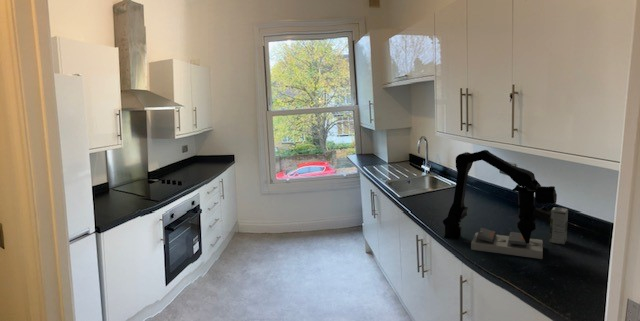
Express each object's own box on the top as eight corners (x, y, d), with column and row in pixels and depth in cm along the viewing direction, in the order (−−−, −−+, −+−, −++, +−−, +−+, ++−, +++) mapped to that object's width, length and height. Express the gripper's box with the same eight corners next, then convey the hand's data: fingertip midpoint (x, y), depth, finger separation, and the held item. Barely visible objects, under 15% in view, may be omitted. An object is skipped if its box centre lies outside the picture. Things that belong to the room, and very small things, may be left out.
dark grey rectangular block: (476, 237, 158) (477, 234, 158) (480, 229, 168) (481, 227, 167) (492, 242, 156) (492, 239, 155) (494, 234, 165) (495, 231, 165)
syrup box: (551, 238, 166) (552, 206, 164) (567, 240, 163) (568, 208, 161) (549, 242, 162) (550, 209, 160) (565, 245, 158) (566, 211, 156)
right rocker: (508, 243, 152) (508, 239, 152) (510, 234, 162) (510, 231, 162) (525, 244, 149) (525, 241, 149) (526, 236, 159) (526, 233, 159)
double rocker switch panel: (461, 248, 161) (461, 240, 160) (466, 237, 173) (466, 230, 172) (542, 259, 146) (542, 250, 145) (542, 246, 158) (542, 239, 157)
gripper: (550, 208, 140) (551, 248, 142) (549, 197, 156) (550, 233, 158) (516, 207, 146) (518, 246, 147) (518, 196, 161) (520, 231, 163)
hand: (527, 239), depth 154 cm, fingers open, 9 cm apart
